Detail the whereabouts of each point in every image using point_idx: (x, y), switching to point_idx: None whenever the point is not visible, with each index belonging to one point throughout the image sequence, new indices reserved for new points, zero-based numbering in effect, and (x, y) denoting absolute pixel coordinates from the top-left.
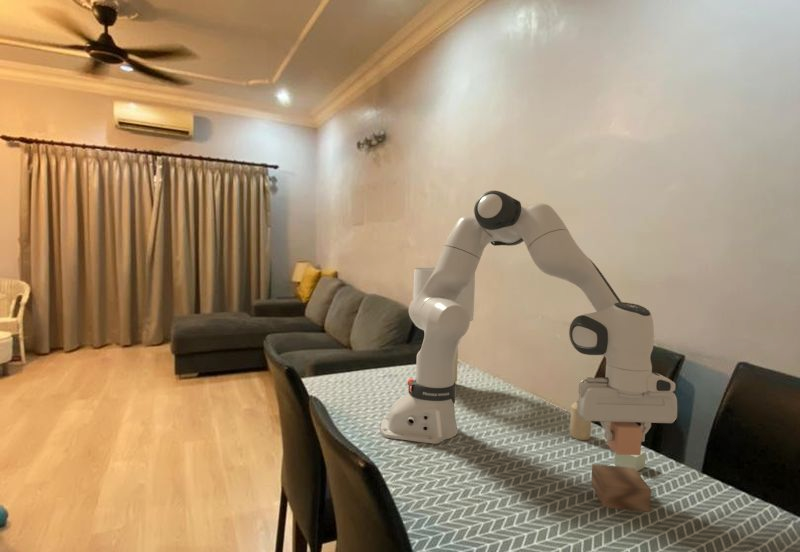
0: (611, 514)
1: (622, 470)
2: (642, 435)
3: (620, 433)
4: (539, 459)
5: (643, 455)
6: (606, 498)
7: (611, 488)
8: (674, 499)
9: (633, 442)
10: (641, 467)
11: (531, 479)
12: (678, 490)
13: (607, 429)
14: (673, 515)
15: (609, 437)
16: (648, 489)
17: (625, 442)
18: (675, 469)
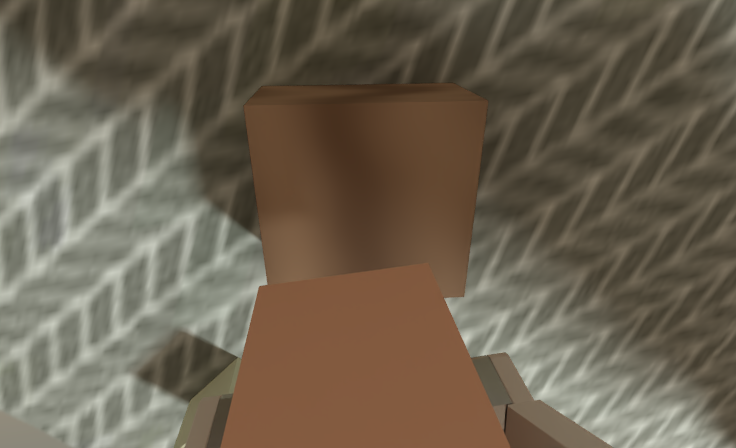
0: (442, 28)
1: (336, 272)
2: (208, 439)
3: (458, 391)
4: (562, 365)
5: (185, 436)
6: (457, 89)
7: (452, 98)
8: (125, 204)
9: (313, 344)
10: (205, 390)
11: (657, 234)
12: (94, 273)
13: (565, 431)
14: (160, 72)
15: (504, 371)
16: (258, 104)
17: (385, 331)
18: (76, 408)
